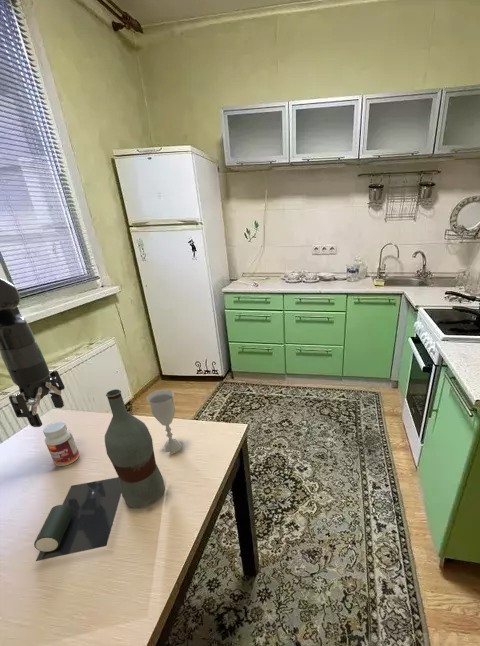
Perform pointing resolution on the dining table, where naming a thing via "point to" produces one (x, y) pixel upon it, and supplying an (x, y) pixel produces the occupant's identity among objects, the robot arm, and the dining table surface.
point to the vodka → (132, 455)
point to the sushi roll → (54, 528)
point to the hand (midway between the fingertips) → (49, 416)
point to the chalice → (164, 415)
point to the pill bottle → (60, 443)
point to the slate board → (88, 517)
